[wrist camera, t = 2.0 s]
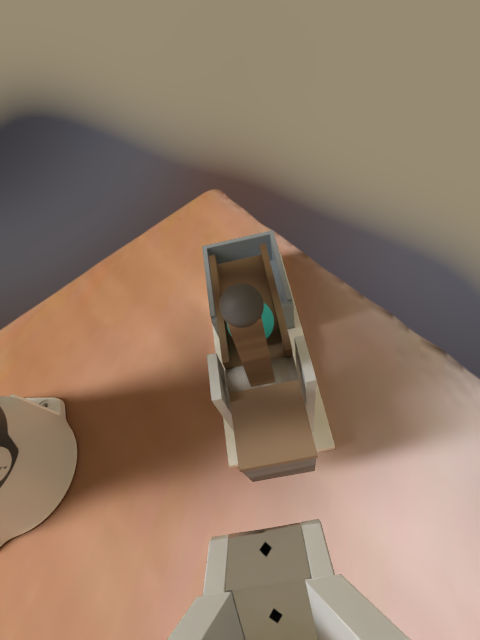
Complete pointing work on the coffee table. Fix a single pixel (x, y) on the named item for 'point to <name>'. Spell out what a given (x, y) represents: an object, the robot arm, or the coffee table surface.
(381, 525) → the coffee table surface
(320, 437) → the catapult stand
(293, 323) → the cup
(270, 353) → the lever
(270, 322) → the ball
